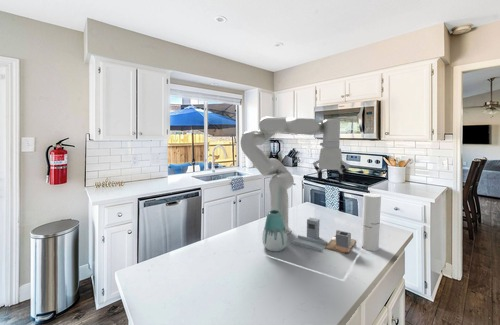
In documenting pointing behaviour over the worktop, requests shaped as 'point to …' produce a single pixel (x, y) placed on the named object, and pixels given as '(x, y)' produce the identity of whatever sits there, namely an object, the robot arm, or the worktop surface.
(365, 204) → the cylindrical container
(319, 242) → the chute
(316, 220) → the gray rectangular block
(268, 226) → the vase
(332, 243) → the pin board
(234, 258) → the worktop surface
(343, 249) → the sleeve
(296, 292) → the worktop surface
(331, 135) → the robot arm
